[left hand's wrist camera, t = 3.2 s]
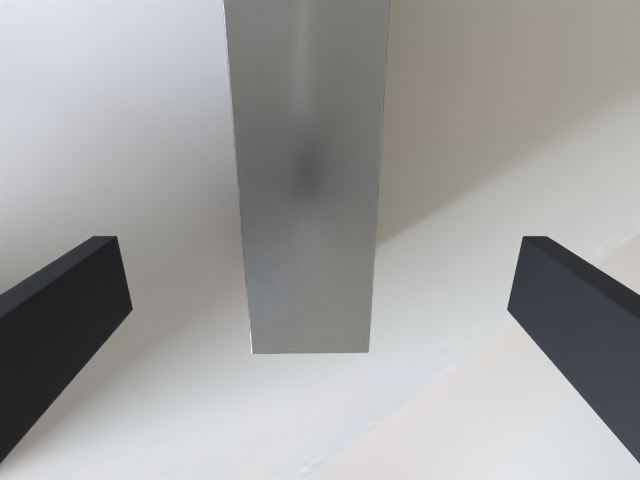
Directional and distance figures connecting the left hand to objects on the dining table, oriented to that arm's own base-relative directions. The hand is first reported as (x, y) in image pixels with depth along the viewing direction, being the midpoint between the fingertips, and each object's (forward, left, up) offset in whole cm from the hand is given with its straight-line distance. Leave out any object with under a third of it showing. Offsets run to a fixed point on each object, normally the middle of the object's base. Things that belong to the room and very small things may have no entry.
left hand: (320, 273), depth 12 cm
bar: (+9, +3, -10) cm, 14 cm away
